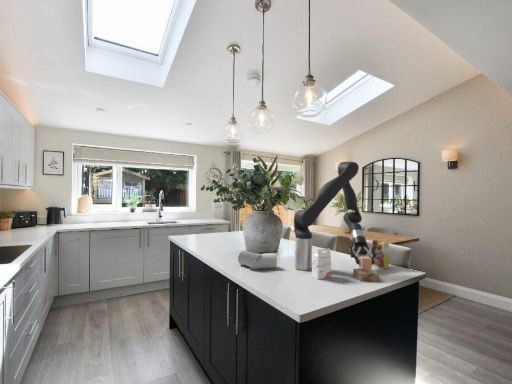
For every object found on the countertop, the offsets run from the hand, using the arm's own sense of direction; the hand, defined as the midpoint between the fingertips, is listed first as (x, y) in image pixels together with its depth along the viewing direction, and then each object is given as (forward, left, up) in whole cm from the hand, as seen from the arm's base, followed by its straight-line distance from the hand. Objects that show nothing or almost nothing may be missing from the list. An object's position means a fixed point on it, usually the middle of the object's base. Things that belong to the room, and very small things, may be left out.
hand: (365, 263), depth 143 cm
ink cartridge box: (-26, -11, -5) cm, 29 cm away
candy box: (+13, +13, -5) cm, 19 cm away
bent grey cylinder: (-60, +5, -5) cm, 60 cm away
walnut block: (-4, -11, -5) cm, 13 cm away
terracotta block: (0, +1, -5) cm, 5 cm away
